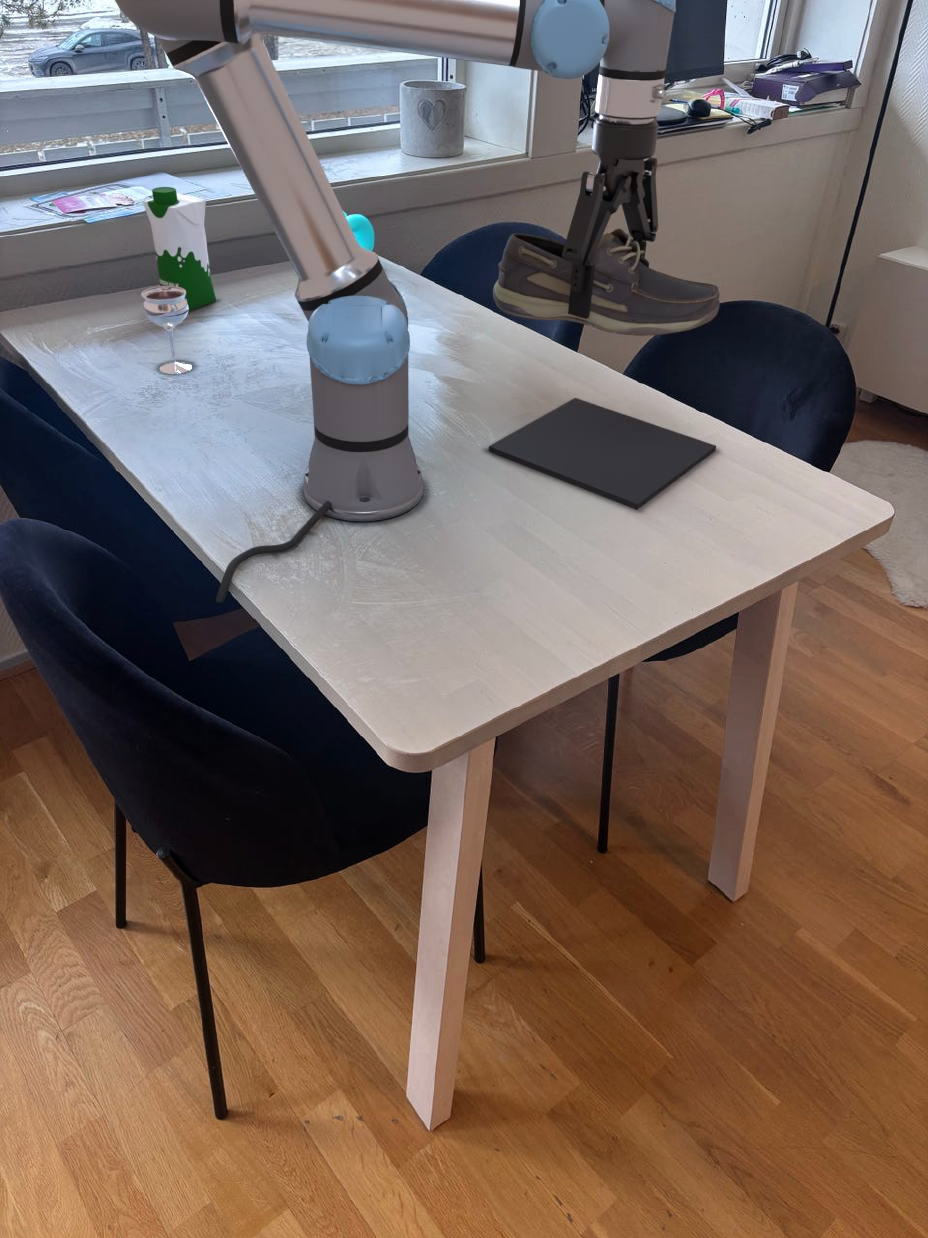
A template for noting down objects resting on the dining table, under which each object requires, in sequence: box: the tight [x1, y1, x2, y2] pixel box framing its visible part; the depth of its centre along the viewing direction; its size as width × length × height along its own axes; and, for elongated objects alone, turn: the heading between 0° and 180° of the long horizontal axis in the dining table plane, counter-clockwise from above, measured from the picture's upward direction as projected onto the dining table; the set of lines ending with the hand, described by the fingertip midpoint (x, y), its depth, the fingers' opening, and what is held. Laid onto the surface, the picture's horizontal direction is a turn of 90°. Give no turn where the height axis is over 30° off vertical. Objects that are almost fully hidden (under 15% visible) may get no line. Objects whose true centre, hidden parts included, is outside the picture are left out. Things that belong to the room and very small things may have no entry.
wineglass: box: [140, 285, 192, 375], centre depth 150 cm, size 7×7×12 cm
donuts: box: [343, 210, 375, 252], centre depth 197 cm, size 10×10×10 cm
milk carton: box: [142, 186, 217, 312], centre depth 172 cm, size 9×9×20 cm
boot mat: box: [488, 397, 717, 510], centre depth 135 cm, size 22×24×1 cm
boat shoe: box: [492, 228, 721, 337], centre depth 122 cm, size 11×29×11 cm, turn 79°
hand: (604, 303), depth 124 cm, fingers closed on boat shoe, 12 cm apart
